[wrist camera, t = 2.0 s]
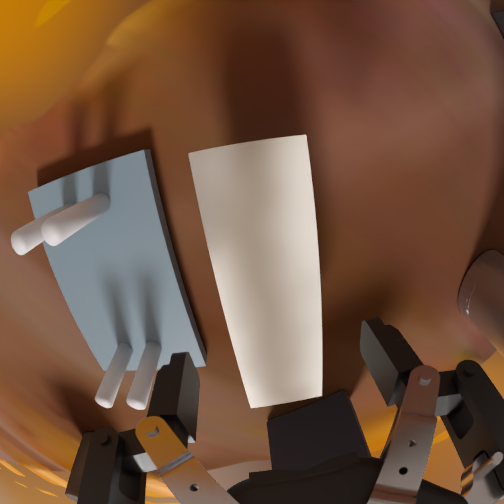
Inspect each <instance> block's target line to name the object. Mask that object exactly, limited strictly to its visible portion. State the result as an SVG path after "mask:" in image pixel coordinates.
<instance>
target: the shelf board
mask: <svg viewBox="0 0 504 504" xmlns="http://www.w3.org/2000/svg"><path fill="white" fill-rule="evenodd" d="M188 154H189V160H190V165H191V170H192V175H193V180H194V185H195V190H196V195H197V199H198V204H199V209H200V213H201V218H202V223H203V227H204V232H205V236H206V240H207V245H208V249H209V253H210V258H211V262H212V266H213V270H214V274H215V279H216V283H217V287H218V291H219V295H220V299H221V303H222V307H223V310H224V314H225V318H226V322H227V326H228V330H229V333H230V337H231V341H232V344H233V348H234V352H235V355H236V359H237V362H238V366H239V370H240V373H241V377H242V380H243V383H244V387H245V390H246V394H247V397H248V400H249V404H250V407H251V408H256V407H263V406H270V405H277V404H283V403H289V402H294V401H299V400H304V399H309V398H314V397H319V396H322V308H321V284H320V266H319V251H318V237H317V225H316V214H315V204H314V194H313V185H312V176H311V168H310V160H309V152H308V144H307V137H306V135H296V136H287V137H279V138H271V139H264V140H257V141H250V142H244V143H238V144H232V145H226V146H221V147H216V148H210V149H205V150H201V151H196V152H192V153H188Z"/></svg>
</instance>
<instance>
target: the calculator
mask: <svg viewBox="0 0 504 504" xmlns="http://www.w3.org/2000/svg"><path fill="white" fill-rule="evenodd" d="M267 429H268V438H269V446H270V455H271V463H272V470H275V469H278V470H307V469H309V468H311V467H314V466H316V465H318V464H320V463H322V462H324V461H326V460H328V459H330V458H334V457H338V456H341V455H345V454H348V453H352V452H355V451H356V452H357V455H358V457H361V456H364V457H372V456H371V454H370V451H369V448H368V445H367V443H366V440H365V437H364V434H363V432H362V429H361V426H360V424H359V421H358V418H357V416H356V413H355V410H354V408H353V405H352V402H351V400H350V398H349V397H348V395H347V393H346V392H345V391H344V390H341V391H339V392H337V393H334V394H332V395H330V396H328V397H326V398H323V399H321V400H319V401H316V402H314V403H312V404H309V405H307V406H304V407H302V408H299V409H297V410H294V411H292V412H289V413H287V414H284V415H281V416H278V417H276V418H273V419H270V420H268V421H267Z"/></svg>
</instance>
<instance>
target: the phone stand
mask: <svg viewBox="0 0 504 504" xmlns="http://www.w3.org/2000/svg"><path fill="white" fill-rule="evenodd" d="M491 15H492V17H493V19H494V20H495V22H496V24H497V26H498V28H499V30H500V32H501V34H502V36H503V38H504V11H500V12H495V13H491Z"/></svg>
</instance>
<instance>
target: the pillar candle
mask: <svg viewBox="0 0 504 504" xmlns="http://www.w3.org/2000/svg"><path fill="white" fill-rule="evenodd" d="M92 434H93V432H86V433H84V434H83V436H82V440H81V443H80V446H79V449H78V451H77V455H76V458H75V461H74V464H73V467H72V470H71V474H70V477H69V481H68V484H67V488H66V492H65V495H66V496H67V497H69V498H70V499H72V500H74V501H75V502H77V500H78V495H79V489H80V484H81V479H82V474H83V469H84V464H85V460H86V456H87V451H88V447H89V443H90V439H91V436H92Z"/></svg>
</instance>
